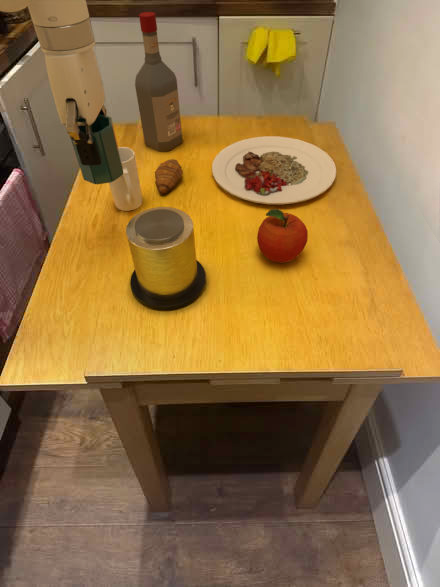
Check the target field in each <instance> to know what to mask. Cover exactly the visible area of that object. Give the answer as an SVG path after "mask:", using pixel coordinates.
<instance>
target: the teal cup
mask: <svg viewBox="0 0 440 587" xmlns="http://www.w3.org/2000/svg"><path fill="white" fill-rule="evenodd" d="M78 122H86V118H78ZM91 126H92V136H93V141H96V144H97V148H98V152H99V155H100V159H101V164H100V165H82V163H81V161H80V157H79V154H78V151H77V148H76V145H75V144H74V142H73V140H72V138H71V137H70V136H69V138H70V141H71V144H72V147H73V150H74V153H75V157H76V160H77V163H78V166H79V169H80V172H81V175H82V178H83V181H85V182H88V183H91V184H93V185H103V184H109V183H110V182H113V181H115V180H116V179H118V178H119V177H120V176H122V175H123V174H124V173H123V165H122V161H121V156H120V152H119V148H118V147H119V143H118V139H117V135H116V131H115V127H114V122H113V118H112V117H111V116H108V115H106V116H105V115H102V114H98V116H97V118H96V119H95V121H94V122H93V123H92V124H91ZM78 128H79V129H80V131H83V132H84V133H85V134H86V126H82V127H78Z"/></svg>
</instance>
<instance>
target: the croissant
mask: <svg viewBox="0 0 440 587" xmlns="http://www.w3.org/2000/svg"><path fill="white" fill-rule="evenodd" d="M182 175H183V169H182V166H181V164H180V163H179V161H178V160H177V159H174V158H171V159H167V160H166V161H164V162H160V163H159V165H158V167H157V168H156V169H155V171H154V178H155V186H156V188H157V190H158V192H159V195H162V196H165V195H166V194H168V193H170V192H171V191H172V189H174V187H175V185H176V184H177V183H178V181H179V180H180V178H182Z"/></svg>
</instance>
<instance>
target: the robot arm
mask: <svg viewBox="0 0 440 587" xmlns="http://www.w3.org/2000/svg"><path fill="white" fill-rule="evenodd" d="M26 8H28V12H29V15H30V18H31V21H32V25H33V28H34V31H35V34H36V37H37V40H38V44H39V46H40V48H41V52H43V53H44V60H45V61H44V62H45V67H46V72H47V76H48V81H49V85H50V89H51V93H52V96H53V100H54V103H55V108H56V110H57V111H56V112H57V114H58V117H59V120H60V124H62V125H63V126H65V131H66V133H67V134H68V135H69V138H70V137H71V138H72V140H73V142H74V144H75V145H76V148H77V151H78V154H79V157H80V161H81V163H82V165H100V164H101V159H100V155H99V152H98V148H97V144H96V141H93V136H92V126H91V124H92V123H93V122H94V121H95V119H96V118H97V116H98V114H102V115H105V116H108V114H107V113H108V112H107V109H106V106H105V101H106V96H105V95H106V94H105V89H104V84H103V81H102V79H103V78H102V76H101V75H102V74H101V72H100V67H99V64H98V61H97V58H96V54H95V51H94V47H95V45H96V38H95V35H94V30H93V26H92V23H91V22H92V21H91V17H90V12H89V9H88V5H87V0H0V12H3V13H16V12H20V11H22V10H24V9H26ZM78 118H86V122H78ZM82 126H86V134H85V133H84V132H83V131H80V129H79V128H78V127H82ZM71 138H70V139H71Z"/></svg>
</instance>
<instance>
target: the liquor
mask: <svg viewBox="0 0 440 587" xmlns="http://www.w3.org/2000/svg"><path fill="white" fill-rule="evenodd" d="M138 16H139V25H140V32H141V34H142V40H143V49H144V63H143V64H142V65H141V68H140V69H139V71H138V72H137V73H136V75H135V80H134V88H135V93H136V98H137V104H138V111H139V112H138V113H139V117H140V124H141V129H142V135H143V141H144V144H145V146H146V147H148V148H150V149H153V150H155V151H157V152H160V153H161V152H170V151H171V150H174V148H176V147H178V146H180V145H181V144H182V143H183V131H182V120H181V111H180V101H179V99H180V98H179V90H178V89H179V88H178V79H177V76H176V74H175V72H174V71H173V70H172V69H171V68H170V67H169V66H168V65H167V64H166V63H165V62H164V61H163V60H162V56H161V54H160V47H159V46H160V44H159V38H158V32H157V31H158V25H157V17H156V13H155V12H153V11H144V12H141V13H139V14H138Z"/></svg>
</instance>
